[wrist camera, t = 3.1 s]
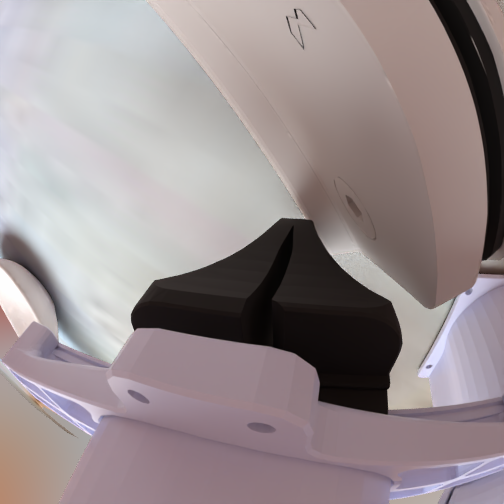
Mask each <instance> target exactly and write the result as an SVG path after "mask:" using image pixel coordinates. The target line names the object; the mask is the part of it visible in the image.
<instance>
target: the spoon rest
mask: <svg viewBox="0 0 504 504" xmlns="http://www.w3.org/2000/svg"><path fill="white" fill-rule="evenodd" d="M0 304H1V307H2V309H3V310H4V312H5V314H6V316H7V318H8V319H9V321H10V323H11V324H12V326H13V328H14V330H15V331H16V333H17V335H18V337H20V336H21V335H22V334H23V332H24V331H25V330H26V329H27V328H28V326H29V325H30V324H31V323H32V322H33V321H35V322H37V323H39V324H42V325H44V326H46V327H48V328H49V329H50V330H51V331H52V332H53V333H54V334H55V336H56V337H57V339H58V323H57V317H56V314H55V306H54V303H53V301H52V299H51V297H50V295H49V294H48V292H47V291H46V289H45V288H44V286H43V285H42V284H41V283H40V281H39V280H38V279H37V278H36V277H35V276H34V275H33V274H31V273H30V272H29V271H28V270H27V269H25V268H24V267H23V266H21V265H20V264H18V263H16V262H13V261H11V260H7V259H1V258H0Z"/></svg>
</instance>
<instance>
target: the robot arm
mask: <svg viewBox="0 0 504 504" xmlns="http://www.w3.org/2000/svg"><path fill="white" fill-rule="evenodd" d="M131 323H132V326H133V328H134V332H133V333H132V334H131V336H130V337H129V338H128V340H127V341H126V343H125V344H124V346H123V347H122V349H121V350H120V352H119V354H118V355H117V357H116V358H115V360H114V361H113V363H112V364H110V363H107V362H104V361H102V360H99V359H96V358H94V357H91V356H89V355H86V354H84V353H81V352H79V351H77V350H74V349H72V348H70V347H67V346H65V345H63V344H61V343H59V341H58V339H57V337H56V336H55V334H54V333H53V332H52V331H51V330H50V329H49V328H48V327H46V326H44V325H42V324H39V323H37V322H35V321H33V322H32V323H31V324H30V325H29V326H28V328H27V329H26V330H25V331H24V332H23V334H22V335H21V336H20V337H19V339H18V340H17V341H16V342H15V344H14V345H13V346H12V348H11V349H10V350H9V351H8V352H7V354H6V355H5V356H4V358H3V359H2V362H3V364H4V365H5V366H6V367H7V368H8V369H9V371H10V372H11V373H12V374H13V375H14V376H15V377H16V378H17V380H18V381H19V382H20V383H21V384H22V385H23V386H24V387H25V388H26V389H27V390H28V391H29V392H30V393H31V394H32V395H33V396H34V397H35V398H36V399H38V400H39V401H40V402H42V403H43V404H45V405H46V406H47V407H49V408H50V409H52V410H53V411H54V412H56V413H57V414H59V415H60V416H62V417H63V418H64V419H66V420H68V421H69V422H70V423H72V424H73V425H75V426H77V427H78V428H80V429H81V430H83V431H84V432H86V433H88V434H89V435H91V436H92V438H91V440H90V442H89V443H88V445H87V447H86V449H85V451H84V453H83V455H82V457H81V459H80V461H79V462H78V465H77V466H76V468H75V471H74V473H73V474H72V476H71V479H70V480H69V482H68V484H67V487H66V489H65V491H64V493H63V495H62V497H61V499H60V501H59V503H58V504H389V500H393V499H399V498H405V497H411V496H416V495H421V494H426V493H430V492H434V491H438V490H442V489H445V491H444V492H443V494H442V496H441V498H440V500H439V502H438V504H504V275H493V274H478V278H477V281H476V283H475V285H474V286H473V287H472V288H470V289H469V290H467V291H465V292H463V293H462V294H460V295H458V296H457V297H456V299H455V302H454V304H453V306H452V308H451V310H450V313H449V315H448V317H447V319H446V321H445V323H444V325H443V327H442V329H441V331H440V333H439V335H438V337H437V339H436V340H435V342H434V344H433V346H432V348H431V350H430V351H429V353H428V355H427V357H426V358H425V360H424V362H423V363H422V365H421V367H420V368H419V370H418V377H420V378H426V377H429V383H430V389H431V396H432V403H433V407H430V408H418V409H401V410H388V397H387V389H389V387H390V376H389V373H390V371H391V369H392V367H393V365H394V363H395V361H396V359H397V357H398V355H399V353H400V351H401V347H402V334H401V328H400V324H399V321H398V318H397V316H396V313H395V310H394V308H393V305H392V303H391V301H389V300H388V299H386V298H384V297H382V296H380V295H378V294H376V293H374V292H373V291H371V290H369V289H368V288H366V287H365V286H363V285H362V284H360V283H359V282H357V281H356V280H355V279H354V278H352V277H351V276H350V275H349V274H348V273H347V272H345V271H344V270H343V269H342V268H341V267H340V266H339V265H338V264H337V263H336V261H335V260H334V259H333V258H332V256H331V255H330V254H329V252H328V251H327V249H326V248H325V246H324V245H323V243H322V241H321V239H320V238H319V236H318V234H317V231H316V229H315V226H314V222H313V221H312V220H307V219H287V218H281V219H280V220H279V221H277V222H276V223H275V224H274V225H273V226H272V227H271V228H269V229H268V230H267V231H266V232H265V233H264V234H262V235H261V236H260V237H259V238H257V239H256V240H254V241H253V242H252V243H250V244H249V245H248V246H246V247H245V248H243V249H241V250H240V251H238V252H236V253H235V254H233V255H231V256H229V257H227V258H225V259H223V260H221V261H218V262H216V263H214V264H211V265H209V266H207V267H204V268H201V269H198V270H195V271H192V272H189V273H185V274H182V275H178V276H173V277H169V278H164V279H160V280H155V281H154V282H153V283H152V284H151V286H150V287H149V288H148V290H147V291H146V292H145V294H144V295H143V296H142V298H141V299H140V300H139V302H138V303H137V304H136V306H135V307H134V309H133V311H132V313H131Z"/></svg>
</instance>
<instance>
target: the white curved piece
mask: <svg viewBox="0 0 504 504" xmlns="http://www.w3.org/2000/svg"><path fill="white" fill-rule="evenodd" d="M146 1H147V2H148V3H149V4H150V5H151V7H152V8H153V9H154V10H155V11H156V12H157V13H158V15H159V16H160V17H161V18H162V19H163V20H164V22H165V23H166V24H167V25H168V26H169V27H170V29H171V30H172V31H173V32H174V33H175V35H176V36H177V37H178V38H179V39H180V41H181V42H182V43H183V44H184V46H185V47H186V48H187V49H188V51H189V52H190V53H191V54H192V56H193V57H194V58H195V59H196V61H197V62H198V63H199V64H200V66H201V67H202V68H203V70H204V71H205V72H206V74H207V75H208V76H209V77H210V79H211V80H212V81H213V83H214V84H215V85H216V87H217V88H218V89H219V91H220V92H221V93H222V95H223V96H224V98H225V99H226V100H227V102H228V103H229V104H230V106H231V107H232V109H233V110H234V111H235V113H236V114H237V116H238V117H239V118H240V120H241V121H242V123H243V124H244V125H245V127H246V128H247V130H248V131H249V133H250V134H251V136H252V137H253V138H254V140H255V141H256V143H257V144H258V146H259V147H260V149H261V150H262V152H263V153H264V155H265V156H266V158H267V159H268V161H269V162H270V164H271V165H272V167H273V168H274V170H275V171H276V173H277V174H278V176H279V177H280V179H281V181H282V182H283V184H284V185H285V187H286V188H287V190H288V192H289V193H290V195H291V196H292V198H293V200H294V201H295V203H296V204H297V206H298V208H299V209H300V211H301V212H302V214H303V216H304V217H305V219H307V220H312V221H313V222H314V226H315V229H316V231H317V234H318V236H319V238H320V239H321V241H322V243H323V245H324V246H325V248H326V249H327V251H328V252H329V254H330V255H338V254H344V253H351V252H361V253H362V254H364V255H365V256H366V257H367V258H368V259H370V260H371V261H372V262H373V263H375V264H376V265H377V266H378V267H379V268H381V269H382V270H383V271H384V272H385V273H386V274H388V275H389V276H390V277H391V278H392V279H394V280H395V281H396V282H397V283H398V284H399V285H401V286H402V287H403V288H404V289H405V290H406V291H407V292H409V293H410V294H411V295H412V296H413V297H414V298H415V299H416V300H418V301H419V302H420V303H421V304H422V305H423V306H424V307H425V308H428V309H434V308H436V307H437V306H439V305H441V304H443V303H445V302H447V301H449V300H451V299H453V298H454V297H456V296H458V295H460V294H462V293H463V292H465V291H467V290H469V289H470V288H472V287H473V286H474V285H475V283H476V281H477V278H478V274H479V270H480V266H481V261H484V260H487V259H488V260H500V259H502V258H503V257H504V15H503V13H502V11H501V9H500V7H499V5H498V3H497V1H496V0H146Z"/></svg>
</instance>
